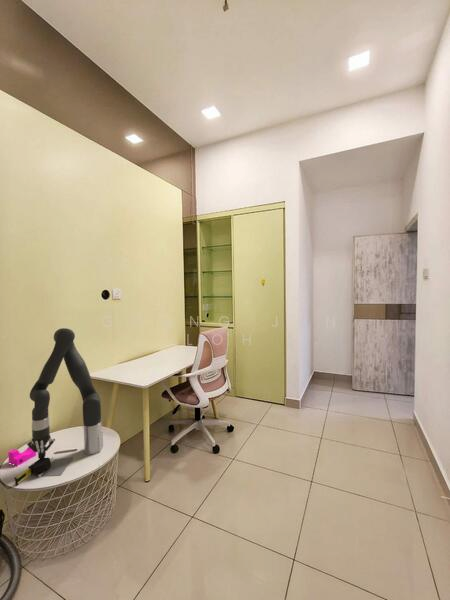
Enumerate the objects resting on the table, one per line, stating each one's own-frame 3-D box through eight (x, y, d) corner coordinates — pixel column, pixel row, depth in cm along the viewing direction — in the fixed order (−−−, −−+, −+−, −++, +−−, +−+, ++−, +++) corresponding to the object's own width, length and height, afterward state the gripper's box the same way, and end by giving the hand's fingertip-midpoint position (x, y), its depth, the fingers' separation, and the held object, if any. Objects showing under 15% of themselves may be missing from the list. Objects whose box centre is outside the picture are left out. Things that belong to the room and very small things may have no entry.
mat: (72, 457, 148) (72, 455, 148) (61, 475, 135) (60, 472, 135) (52, 459, 147) (52, 457, 147) (38, 477, 133) (38, 474, 133)
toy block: (17, 467, 141) (16, 453, 141) (8, 465, 143) (8, 451, 143) (43, 450, 156) (43, 438, 155) (35, 449, 157) (35, 436, 157)
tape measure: (41, 457, 141) (53, 457, 139) (42, 465, 141) (54, 465, 140) (13, 477, 127) (27, 477, 125) (15, 485, 127) (29, 486, 125)
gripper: (57, 421, 143) (59, 452, 144) (31, 423, 142) (32, 455, 142) (50, 428, 136) (52, 461, 137) (22, 431, 134) (23, 464, 135)
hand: (42, 458), depth 140 cm, fingers closed
